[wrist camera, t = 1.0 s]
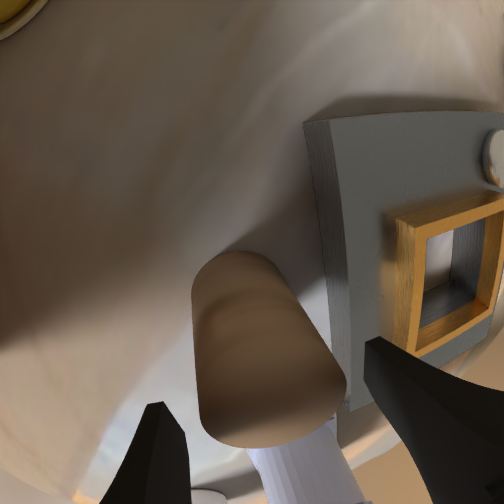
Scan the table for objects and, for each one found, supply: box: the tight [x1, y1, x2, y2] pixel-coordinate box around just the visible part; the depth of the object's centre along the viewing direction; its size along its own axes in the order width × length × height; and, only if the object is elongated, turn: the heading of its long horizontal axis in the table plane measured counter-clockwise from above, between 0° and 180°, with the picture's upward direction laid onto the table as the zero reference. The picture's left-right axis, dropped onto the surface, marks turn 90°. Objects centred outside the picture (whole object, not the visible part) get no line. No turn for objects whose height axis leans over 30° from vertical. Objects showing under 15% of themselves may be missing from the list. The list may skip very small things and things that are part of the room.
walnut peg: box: [191, 251, 347, 449], centre depth 13 cm, size 5×5×8 cm
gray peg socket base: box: [303, 111, 504, 412], centre depth 16 cm, size 18×14×4 cm
